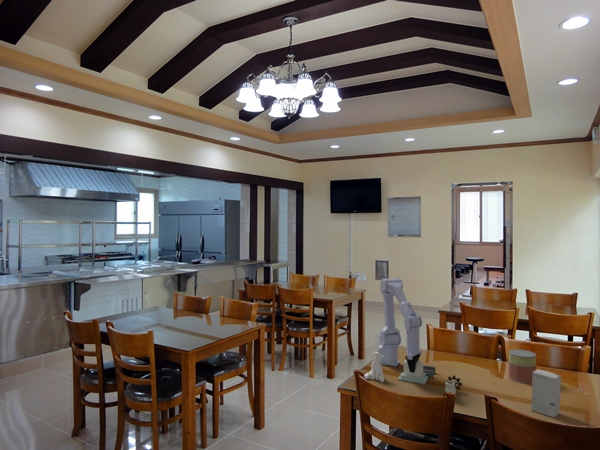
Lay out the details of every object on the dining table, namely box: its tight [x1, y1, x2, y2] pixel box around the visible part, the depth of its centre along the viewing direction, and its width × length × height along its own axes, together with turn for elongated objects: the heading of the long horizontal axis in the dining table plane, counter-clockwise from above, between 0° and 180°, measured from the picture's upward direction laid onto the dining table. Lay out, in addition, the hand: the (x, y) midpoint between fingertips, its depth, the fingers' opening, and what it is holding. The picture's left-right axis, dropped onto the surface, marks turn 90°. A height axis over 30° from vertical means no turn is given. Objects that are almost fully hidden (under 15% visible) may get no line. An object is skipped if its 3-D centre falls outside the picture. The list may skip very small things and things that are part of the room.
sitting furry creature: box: [363, 351, 385, 383], centre depth 192 cm, size 10×9×12 cm
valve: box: [444, 375, 463, 395], centre depth 172 cm, size 7×7×12 cm
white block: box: [403, 358, 424, 377], centre depth 190 cm, size 8×4×6 cm, turn 63°
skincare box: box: [530, 368, 562, 418], centre depth 156 cm, size 8×6×15 cm
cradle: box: [397, 372, 429, 385], centre depth 190 cm, size 12×8×2 cm, turn 63°
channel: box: [423, 364, 437, 379], centre depth 196 cm, size 6×7×3 cm
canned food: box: [508, 349, 537, 385], centre depth 189 cm, size 11×11×12 cm
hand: (413, 370), depth 190 cm, fingers closed on white block, 4 cm apart
